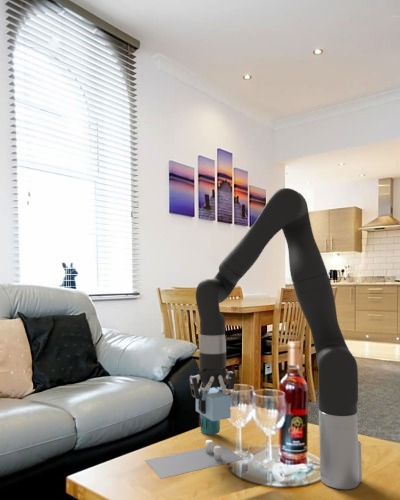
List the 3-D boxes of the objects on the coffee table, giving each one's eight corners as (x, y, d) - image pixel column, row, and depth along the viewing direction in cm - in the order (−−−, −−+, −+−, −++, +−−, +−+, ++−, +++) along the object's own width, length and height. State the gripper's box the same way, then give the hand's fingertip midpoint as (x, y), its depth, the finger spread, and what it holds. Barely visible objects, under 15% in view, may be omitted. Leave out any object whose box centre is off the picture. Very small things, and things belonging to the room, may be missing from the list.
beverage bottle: (222, 433, 142) (221, 370, 143) (217, 440, 135) (216, 375, 136) (203, 431, 143) (202, 369, 145) (197, 438, 137) (196, 374, 138)
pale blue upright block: (212, 407, 127) (212, 387, 127) (230, 418, 118) (230, 395, 118) (195, 410, 124) (195, 389, 125) (212, 421, 116) (212, 398, 116)
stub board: (221, 449, 129) (221, 433, 129) (243, 464, 118) (243, 447, 118) (144, 465, 118) (144, 448, 118) (161, 484, 107) (161, 466, 107)
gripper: (195, 354, 116) (195, 419, 115) (241, 350, 122) (242, 411, 121) (183, 350, 122) (183, 411, 121) (227, 346, 129) (228, 404, 128)
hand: (212, 411), depth 121 cm, fingers closed on pale blue upright block, 5 cm apart
